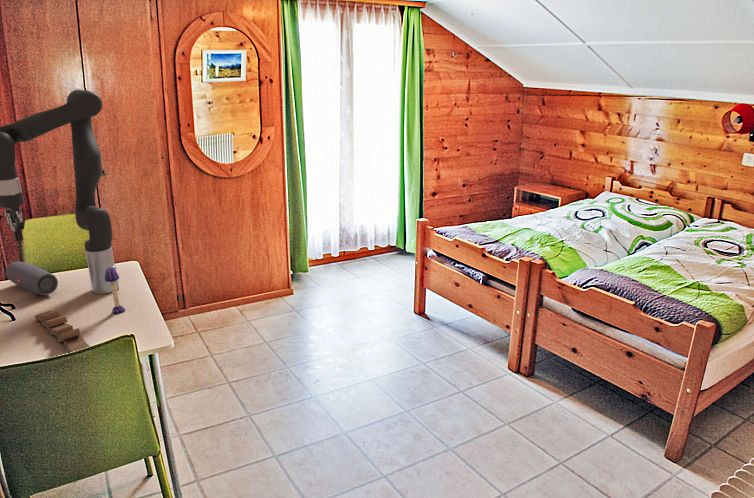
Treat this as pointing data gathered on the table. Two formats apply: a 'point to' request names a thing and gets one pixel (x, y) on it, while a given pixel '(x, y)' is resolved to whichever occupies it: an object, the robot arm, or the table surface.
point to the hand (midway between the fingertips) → (19, 240)
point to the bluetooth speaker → (31, 278)
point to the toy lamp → (114, 288)
